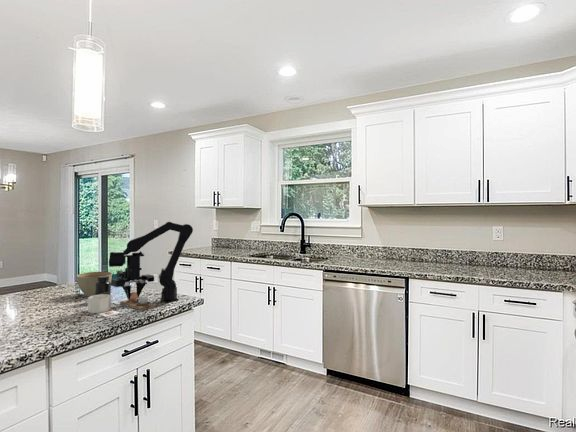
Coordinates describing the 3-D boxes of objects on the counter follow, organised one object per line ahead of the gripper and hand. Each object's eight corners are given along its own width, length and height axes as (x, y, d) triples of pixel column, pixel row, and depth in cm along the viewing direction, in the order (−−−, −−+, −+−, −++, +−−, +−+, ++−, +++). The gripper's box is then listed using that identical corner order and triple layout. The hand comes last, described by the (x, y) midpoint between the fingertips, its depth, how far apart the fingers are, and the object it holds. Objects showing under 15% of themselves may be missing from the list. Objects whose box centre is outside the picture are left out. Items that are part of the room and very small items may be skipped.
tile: (113, 311, 144) (113, 309, 144) (119, 313, 141) (119, 312, 141) (98, 314, 139) (98, 313, 139) (105, 317, 136) (105, 315, 136)
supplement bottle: (103, 303, 157) (103, 278, 157) (91, 302, 158) (91, 277, 158) (113, 299, 163) (114, 275, 163) (102, 298, 165) (102, 274, 165)
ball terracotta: (135, 299, 160) (135, 290, 160) (139, 300, 157) (139, 292, 157) (126, 300, 157) (126, 292, 157) (131, 302, 154) (131, 293, 154)
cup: (105, 306, 151) (105, 293, 151) (113, 309, 146) (114, 296, 146) (85, 310, 144) (85, 296, 144) (93, 314, 139) (93, 300, 139)
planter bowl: (68, 297, 167) (68, 276, 166) (93, 290, 182) (94, 270, 182) (95, 299, 163) (95, 277, 163) (118, 292, 179) (119, 272, 179)
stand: (136, 300, 163) (136, 296, 163) (156, 306, 152) (156, 303, 152) (120, 303, 157) (120, 300, 157) (140, 310, 146) (140, 306, 146)
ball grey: (145, 302, 154) (145, 294, 154) (149, 304, 152) (149, 295, 152) (136, 304, 151) (136, 295, 151) (141, 306, 149) (141, 297, 149)
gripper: (143, 262, 169) (142, 292, 169) (105, 266, 154) (104, 299, 154) (155, 264, 163) (154, 295, 163) (116, 268, 148) (116, 303, 148)
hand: (133, 298), depth 157 cm, fingers closed on ball terracotta, 4 cm apart
